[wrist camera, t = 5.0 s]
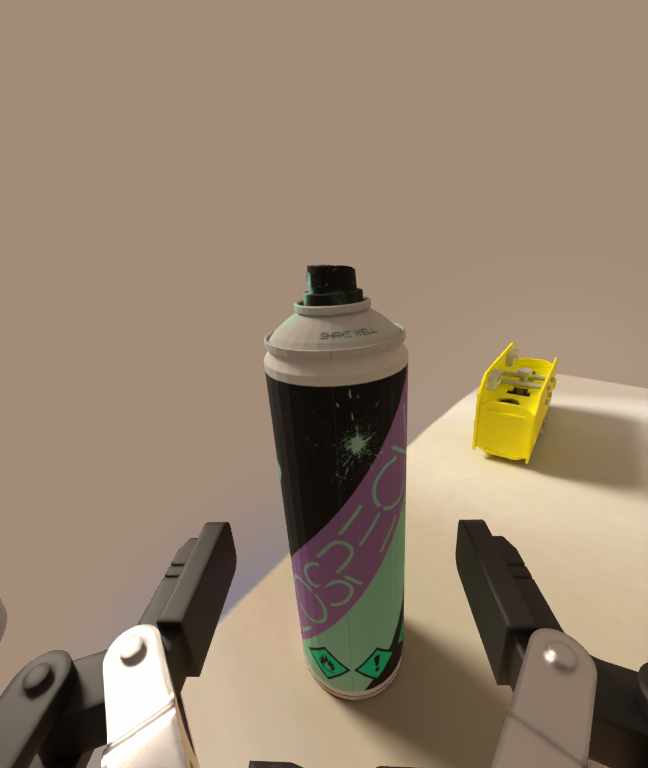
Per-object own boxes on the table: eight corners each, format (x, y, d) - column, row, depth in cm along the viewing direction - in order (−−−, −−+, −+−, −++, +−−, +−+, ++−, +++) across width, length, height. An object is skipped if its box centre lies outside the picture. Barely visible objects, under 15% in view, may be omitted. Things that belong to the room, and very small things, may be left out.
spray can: (283, 653, 19) (218, 272, 12) (341, 581, 23) (319, 261, 16) (368, 730, 16) (348, 268, 9) (420, 630, 20) (436, 255, 13)
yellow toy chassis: (502, 398, 47) (510, 338, 44) (552, 407, 44) (564, 342, 41) (466, 454, 36) (473, 378, 33) (530, 472, 32) (544, 388, 29)
